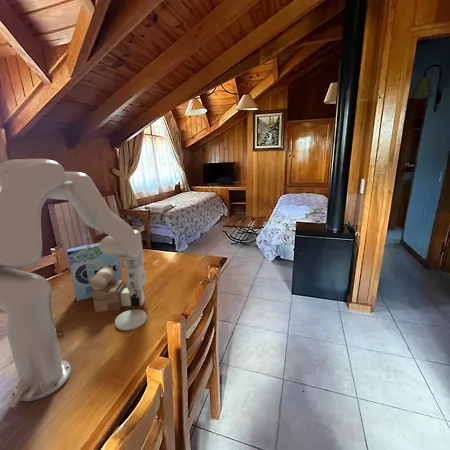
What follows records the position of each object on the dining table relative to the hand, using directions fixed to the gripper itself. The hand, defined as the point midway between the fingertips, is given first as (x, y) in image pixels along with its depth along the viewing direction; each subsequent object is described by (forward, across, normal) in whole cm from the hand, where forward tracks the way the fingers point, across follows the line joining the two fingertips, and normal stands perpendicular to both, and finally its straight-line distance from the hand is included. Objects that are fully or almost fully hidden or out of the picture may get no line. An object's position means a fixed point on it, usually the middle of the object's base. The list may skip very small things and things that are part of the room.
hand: (138, 300), depth 105 cm
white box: (+1, 0, +4) cm, 4 cm away
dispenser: (+1, 0, +11) cm, 11 cm away
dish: (+1, -12, 0) cm, 12 cm away
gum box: (+1, +10, +20) cm, 22 cm away
